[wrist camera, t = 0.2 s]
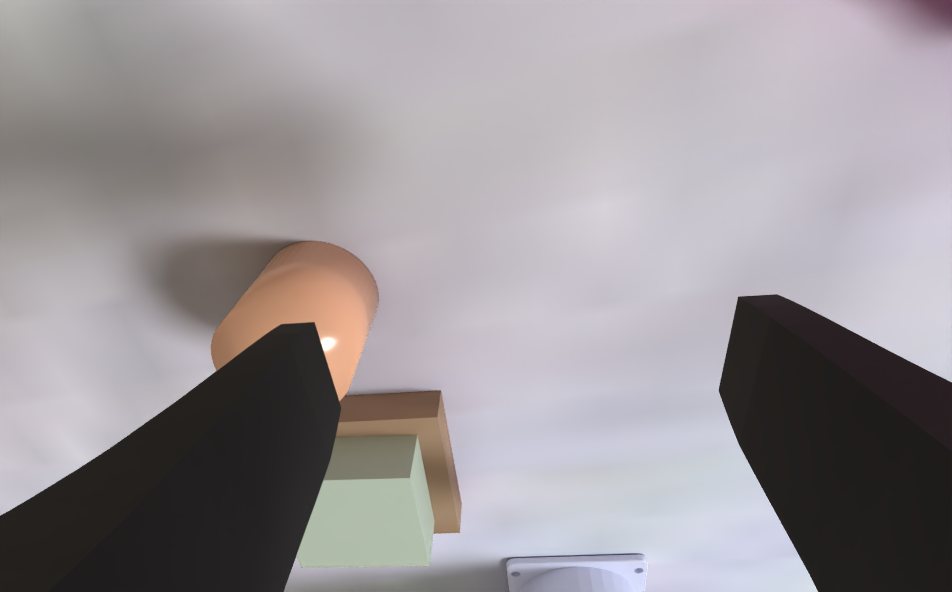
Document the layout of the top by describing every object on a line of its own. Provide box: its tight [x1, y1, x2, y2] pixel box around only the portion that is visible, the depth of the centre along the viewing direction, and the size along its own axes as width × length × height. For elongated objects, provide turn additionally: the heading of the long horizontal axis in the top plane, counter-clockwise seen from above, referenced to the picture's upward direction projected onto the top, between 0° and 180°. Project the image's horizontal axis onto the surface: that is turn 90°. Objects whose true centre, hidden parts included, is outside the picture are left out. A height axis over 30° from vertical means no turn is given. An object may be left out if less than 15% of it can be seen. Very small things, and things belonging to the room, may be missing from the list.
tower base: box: [336, 391, 462, 534], centre depth 25 cm, size 8×8×2 cm
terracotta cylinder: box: [211, 241, 379, 401], centre depth 18 cm, size 4×4×4 cm
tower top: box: [296, 435, 435, 568], centre depth 23 cm, size 6×6×2 cm
